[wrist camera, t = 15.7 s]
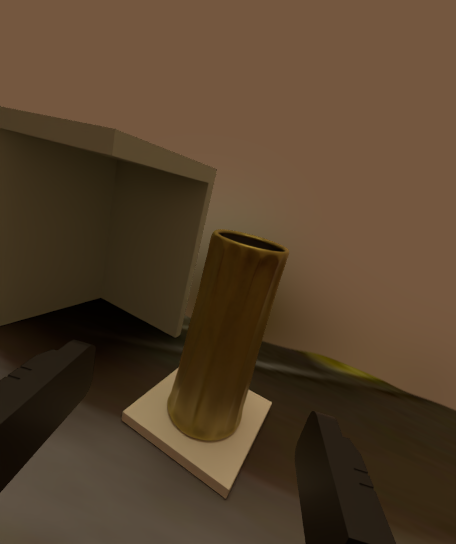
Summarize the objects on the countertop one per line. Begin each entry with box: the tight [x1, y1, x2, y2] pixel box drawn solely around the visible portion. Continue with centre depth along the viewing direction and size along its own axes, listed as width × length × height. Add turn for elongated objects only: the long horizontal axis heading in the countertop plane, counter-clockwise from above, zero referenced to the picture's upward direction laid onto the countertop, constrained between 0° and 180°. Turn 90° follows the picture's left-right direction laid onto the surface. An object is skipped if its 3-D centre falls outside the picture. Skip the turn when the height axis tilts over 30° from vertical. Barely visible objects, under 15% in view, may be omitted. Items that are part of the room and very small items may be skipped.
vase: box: [167, 229, 289, 441], centre depth 20 cm, size 6×6×14 cm
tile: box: [121, 369, 272, 499], centre depth 22 cm, size 9×9×1 cm
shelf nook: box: [0, 107, 217, 338], centre depth 27 cm, size 14×13×20 cm
